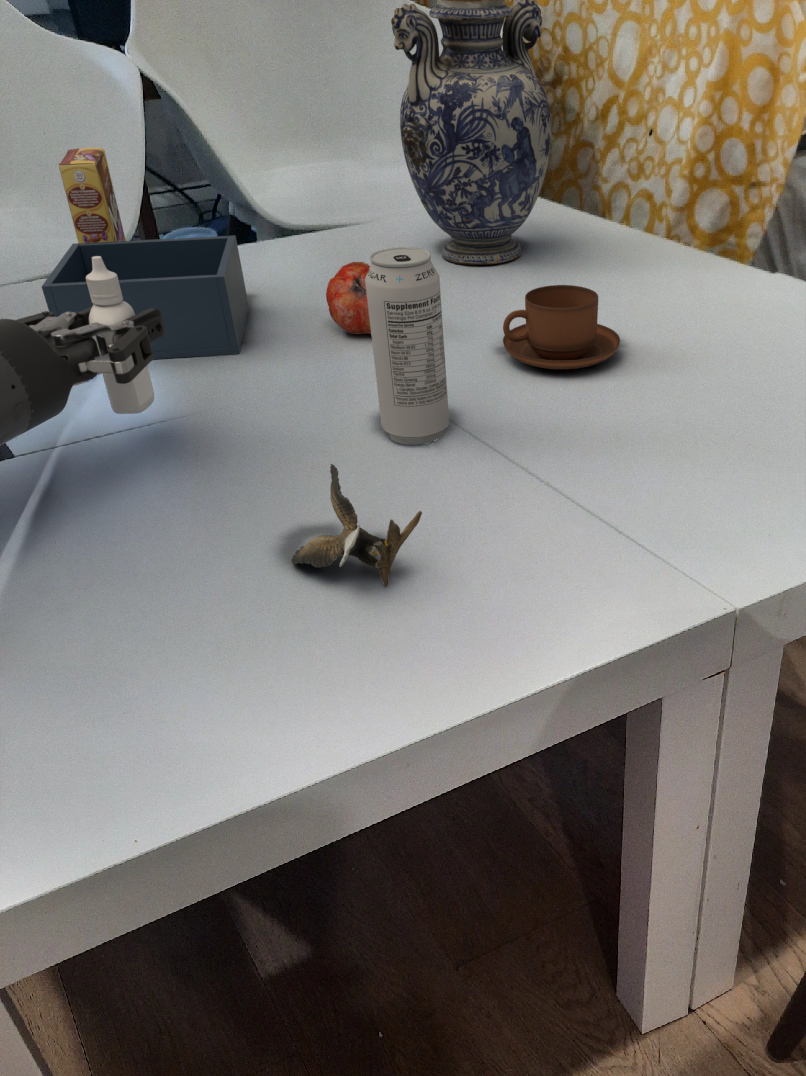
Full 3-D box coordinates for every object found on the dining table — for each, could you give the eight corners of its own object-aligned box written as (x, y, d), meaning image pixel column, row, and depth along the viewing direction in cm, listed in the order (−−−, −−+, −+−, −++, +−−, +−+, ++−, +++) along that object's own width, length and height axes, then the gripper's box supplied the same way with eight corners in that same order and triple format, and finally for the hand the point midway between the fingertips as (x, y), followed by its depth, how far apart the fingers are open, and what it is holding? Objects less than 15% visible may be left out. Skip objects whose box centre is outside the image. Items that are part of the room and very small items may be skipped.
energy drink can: (439, 415, 93) (426, 242, 84) (458, 441, 89) (447, 261, 79) (375, 425, 92) (354, 250, 82) (392, 452, 87) (372, 270, 78)
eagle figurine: (440, 538, 73) (348, 486, 76) (409, 490, 67) (309, 434, 70) (379, 623, 72) (288, 566, 75) (342, 581, 66) (243, 522, 69)
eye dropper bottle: (175, 395, 89) (142, 251, 82) (132, 419, 85) (93, 270, 78) (135, 387, 90) (99, 245, 83) (91, 410, 87) (49, 263, 79)
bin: (65, 365, 104) (41, 286, 99) (93, 316, 116) (72, 243, 111) (239, 354, 106) (223, 276, 101) (249, 306, 118) (235, 235, 113)
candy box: (134, 308, 118) (95, 162, 108) (95, 311, 117) (53, 164, 107) (139, 285, 124) (104, 145, 115) (103, 288, 124) (64, 148, 114)
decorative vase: (501, 226, 144) (494, -15, 126) (587, 254, 133) (592, -6, 115) (375, 255, 134) (347, -4, 116) (457, 287, 123) (440, 7, 105)
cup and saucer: (554, 389, 98) (554, 325, 94) (480, 355, 105) (477, 294, 101) (643, 360, 104) (646, 298, 100) (567, 329, 111) (568, 270, 107)
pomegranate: (335, 343, 115) (307, 311, 105) (346, 278, 114) (320, 240, 104) (398, 354, 114) (376, 323, 104) (410, 289, 114) (389, 252, 104)
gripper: (45, 350, 69) (196, 280, 81) (-111, 325, 73) (55, 261, 85) (77, 453, 74) (215, 371, 86) (-71, 423, 78) (81, 350, 90)
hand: (135, 317), depth 86 cm, fingers closed on eye dropper bottle, 4 cm apart
